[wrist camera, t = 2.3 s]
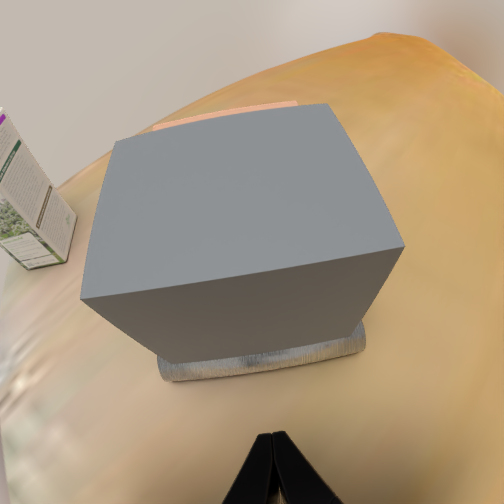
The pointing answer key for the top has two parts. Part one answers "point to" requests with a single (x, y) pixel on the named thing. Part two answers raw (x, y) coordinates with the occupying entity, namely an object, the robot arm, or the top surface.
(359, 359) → the top surface
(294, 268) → the grey block
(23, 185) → the syrup box
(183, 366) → the roller track
